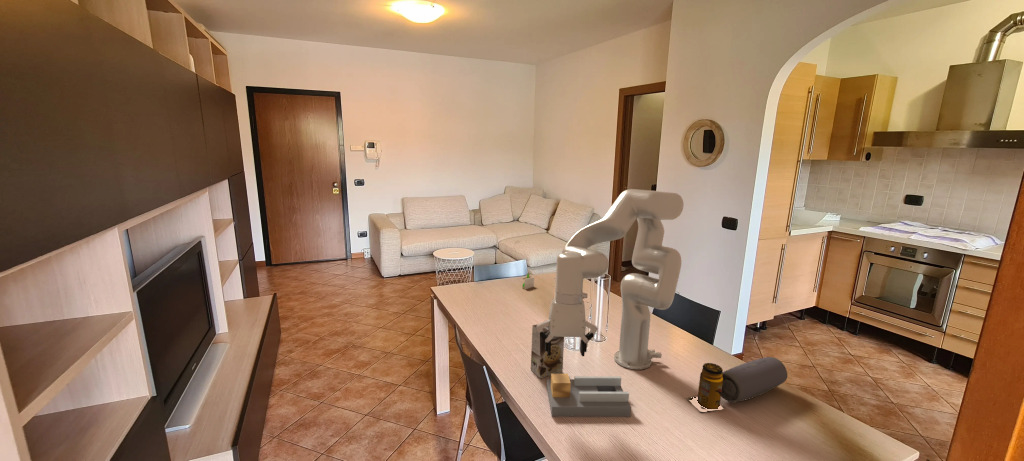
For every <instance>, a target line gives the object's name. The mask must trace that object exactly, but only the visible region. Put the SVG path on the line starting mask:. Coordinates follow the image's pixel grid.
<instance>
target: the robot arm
mask: <svg viewBox="0 0 1024 461" xmlns="http://www.w3.org/2000/svg"><path fill="white" fill-rule="evenodd" d="M683 209H684V200H683V198H682V196H681V195H680V194H678V193H677V192H669V191H658V190H649V189H639V188H638V189H635V188H629V189H625V190H623V191H622V192H621V193H620V194H619V195H618V196H617V198H616V199H615V200H614V202H613V203H612V204H611V206H610V207H609V209H608V210H607V211H606V212H605V213H604V215H603V216H602V218H601V219H599V220H596V221H595V222H593V223H590V224H588V225H586V226H585V227H583V228H581V229H580V230H578V231H577V232H575V234H573V235H572V236H571V238H569V240H568V241H567V243H566V244H565V246H564V247H563V249H562V251H561V253H560V254H558V256H557V257H556V258H557V259H556V270H555V271H556V272H555V290H554V291H555V293H554V298H553V299H552V300H551V303H550V308H549V313H548V314H549V316H548V319H547V320H544V321H543V322H540V323H538V325H537V324H535V325H536V328H537V330H538V332H539V334H540V336H541V337H542V338H543V339H544V340H545V351H547V354H548V356H550V355H551V341H550V340H551V339H552V338H553V337H554V336H555V337H564V338H581V339H580V347H579V353H580V356H582V357H585V353H587V350H588V349H587V347H588V343H589V342H590V340H591V339H593V338H594V337H595V334H596V333H597V331H598V329H599V328H598V327H597V325H595V324H594V323H592V322H589V321H587V320H586V307H585V302H584V299H588V293H586V292H584V288H583V287H584V279H596V278H599V277H602V276H603V275H605V274H606V272H607V270H608V269H609V264H610V262H609V258H608V257H607V255H606V254H605V253H604V252H600V251H597V250H593V249H589V248H590V247H592V246H594V245H597V244H601V243H602V244H603V243H606V242H611V241H615V240H620V239H622V238H624V237H625V236H626V235H627V233H628V232H629V230H630V229H631V228H632V226H633V224H634V223H635V222H636V221H637V227H638V228H637V233H636V239H635V244H634V247H633V252H632V257H631V264H632V266H633V267H634V268H635V269H636V270H639V271H642V272H643V271H644V272H646V273H650V274H655V275H658V278H656V277H652V276H650V275H646V274H641V273H635V272H634V273H633V272H632V273H628V274H626V275H625V276H623V278H622V279H621V282H620V293H621V294H620V295H621V320H620V321H621V322H620V331H619V332H620V336H619V347H618V348H619V349H618V350H617V351H616V352H615V353H614V356H613V358H614V361H615V362H616V363H617V364H618V365H619V366H621V367H623V368H627V369H630V370H637V371H638V370H645V369H648V368H649V367H650V366H651V365H652V359H661V358H662V352H661V351H660V352H659V351H656V350H655V349H649V340H650V339H649V338H650V337H649V336H650V327H651V312H650V308H653V309H657V310H660V311H661V310H662V311H663V310H668V309H669V308H670V307H671V306H672V304H673V302H674V298H675V295H676V290H677V287H678V286H677V285H678V282H679V279H680V273H681V268H682V255H681V253H680V252H679V250H677V249H675V248H672V247H669V246H663V241H664V237H665V236H664V235H665V227H664V225H663V222H662V221H668V220H669V221H671V220H675V219H678V218H679V217H680V215H681V214H682V212H683ZM649 307H650V308H649ZM547 326H548V328H549V331H548V332H547V333H545V332H544V331H543V330H542V329H543V328H545V327H547ZM587 328H588V329H590V330H589V331H588V332H587V333H586V329H587Z"/></svg>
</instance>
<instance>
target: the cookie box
mask: <svg viewBox="0 0 1024 461" xmlns="http://www.w3.org/2000/svg"><path fill="white" fill-rule="evenodd" d="M538 324H539V323H538ZM538 324H533V325H532V328H531V329H532V330H531V331H532V332H531V349H530V350H531V354H530V358H531V359H530V371H531V372H532V373H533V374H535V376H537V377H538V378H539V379H542V378H545V377H551V374H562V373H563V371H564V368H563V367H564V352H565V351H564V349H565V337H555V336H554V337H553V338H552V339H551V340H550V341H551V355H550V356H548V354H547V351H545V340H544V339H543V338H542V337H541V336H540V334H539V332H538V330H537V328H536V325H538ZM542 330H543V331H544V332H545V333H547V332H548V331H549V328H548V326H547V327H545V328H543V329H542Z"/></svg>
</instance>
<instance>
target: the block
mask: <svg viewBox="0 0 1024 461" xmlns="http://www.w3.org/2000/svg"><path fill="white" fill-rule="evenodd" d="M550 379H551V392H552V397H570V386H571V383H570V375H569V374H568V373H557V374H551V375H550Z"/></svg>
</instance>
